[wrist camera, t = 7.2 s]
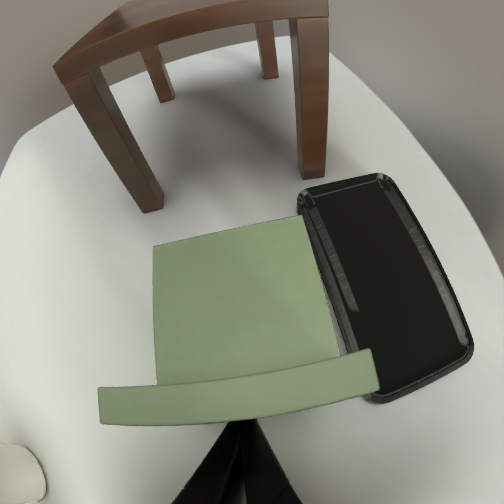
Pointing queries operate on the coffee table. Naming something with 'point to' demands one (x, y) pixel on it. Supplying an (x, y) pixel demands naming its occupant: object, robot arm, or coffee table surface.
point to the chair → (240, 333)
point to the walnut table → (146, 41)
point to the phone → (385, 283)
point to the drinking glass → (20, 476)
